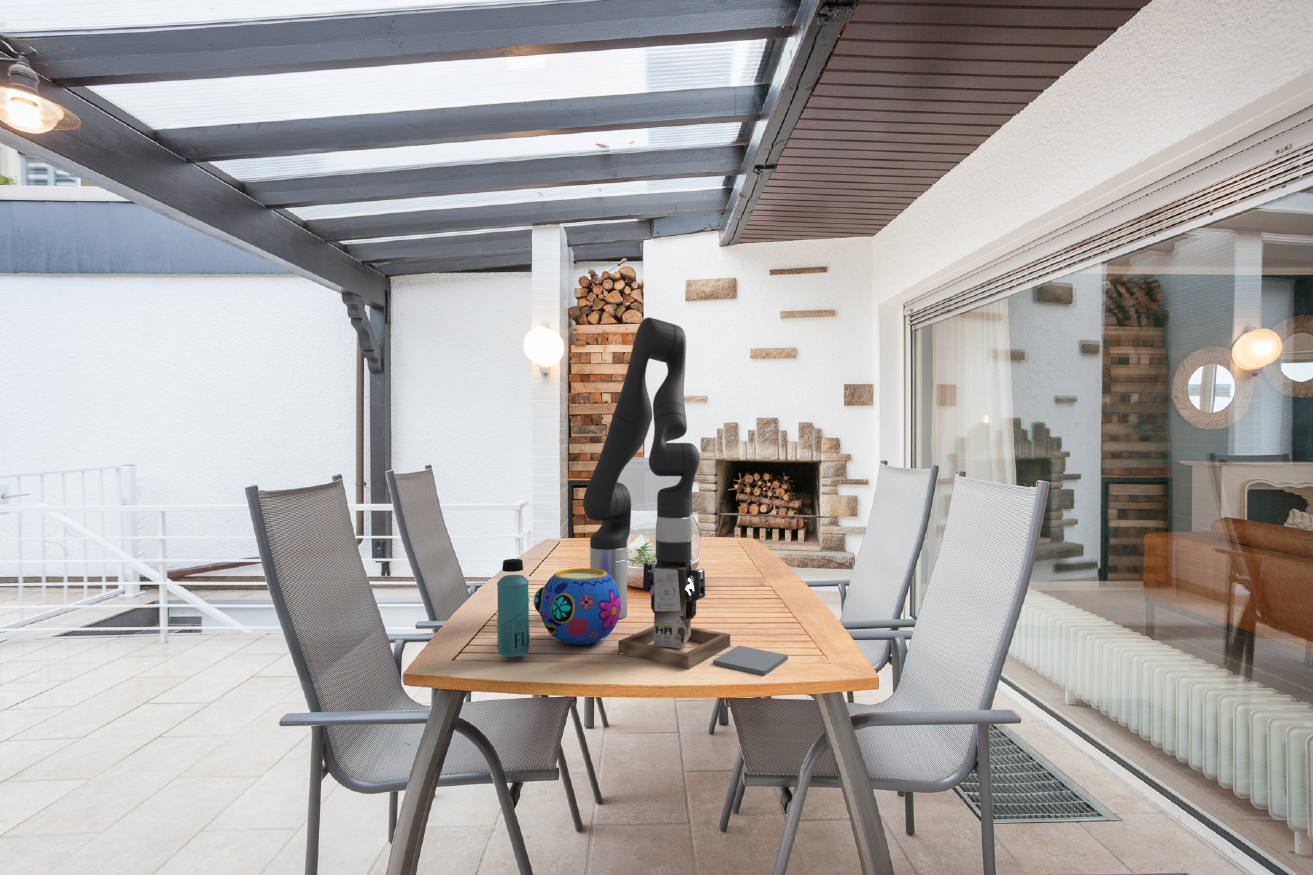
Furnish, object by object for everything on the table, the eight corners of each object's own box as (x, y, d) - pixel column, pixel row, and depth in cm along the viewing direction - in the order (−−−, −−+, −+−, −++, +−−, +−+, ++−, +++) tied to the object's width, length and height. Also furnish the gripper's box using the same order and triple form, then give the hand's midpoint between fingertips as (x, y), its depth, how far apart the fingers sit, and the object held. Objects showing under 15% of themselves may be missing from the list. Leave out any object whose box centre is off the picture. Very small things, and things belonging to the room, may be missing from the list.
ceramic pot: (525, 639, 144) (525, 571, 144) (594, 625, 155) (593, 562, 155) (564, 660, 130) (564, 585, 130) (637, 643, 141) (636, 574, 141)
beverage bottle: (513, 666, 127) (513, 563, 127) (489, 660, 130) (489, 560, 130) (536, 657, 132) (536, 558, 132) (512, 651, 136) (512, 555, 136)
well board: (618, 653, 135) (618, 640, 135) (663, 632, 149) (663, 621, 149) (688, 669, 125) (688, 656, 125) (730, 645, 139) (730, 634, 139)
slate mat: (712, 664, 128) (712, 659, 128) (738, 649, 137) (738, 645, 137) (764, 675, 122) (764, 671, 122) (787, 658, 131) (787, 654, 131)
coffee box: (683, 649, 132) (684, 569, 132) (652, 646, 133) (653, 567, 133) (691, 635, 141) (692, 560, 141) (662, 633, 142) (663, 559, 142)
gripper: (635, 536, 138) (635, 613, 138) (693, 543, 130) (692, 625, 130) (655, 532, 144) (655, 606, 144) (712, 538, 136) (711, 616, 136)
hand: (673, 615), depth 137 cm, fingers closed on coffee box, 8 cm apart
